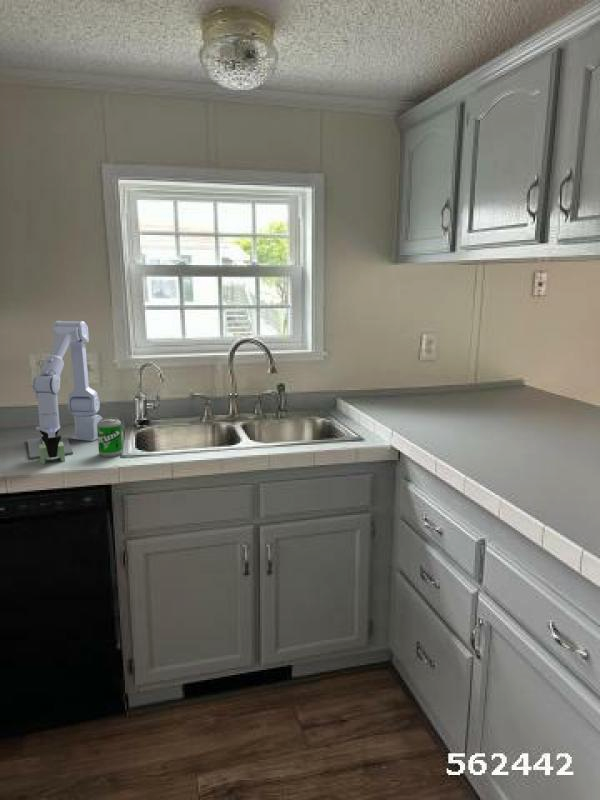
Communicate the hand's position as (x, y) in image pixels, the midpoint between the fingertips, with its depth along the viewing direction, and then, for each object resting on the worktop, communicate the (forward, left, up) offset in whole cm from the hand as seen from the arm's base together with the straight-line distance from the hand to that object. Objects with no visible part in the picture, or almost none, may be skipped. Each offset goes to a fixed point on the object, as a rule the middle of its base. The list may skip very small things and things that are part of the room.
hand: (52, 453), depth 176 cm
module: (0, 0, -2) cm, 2 cm away
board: (+10, -11, -2) cm, 15 cm away
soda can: (-14, -11, -2) cm, 18 cm away
